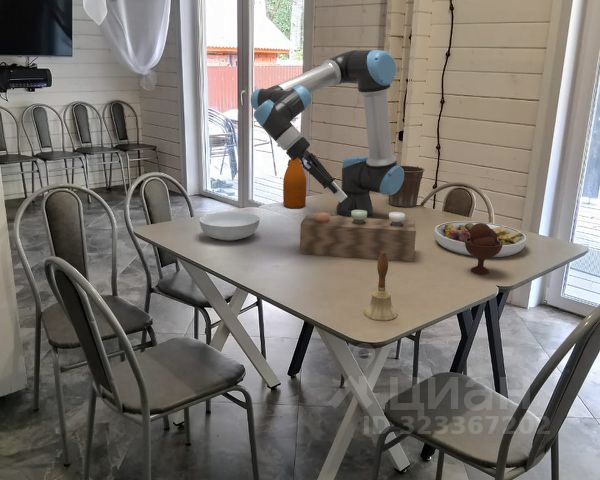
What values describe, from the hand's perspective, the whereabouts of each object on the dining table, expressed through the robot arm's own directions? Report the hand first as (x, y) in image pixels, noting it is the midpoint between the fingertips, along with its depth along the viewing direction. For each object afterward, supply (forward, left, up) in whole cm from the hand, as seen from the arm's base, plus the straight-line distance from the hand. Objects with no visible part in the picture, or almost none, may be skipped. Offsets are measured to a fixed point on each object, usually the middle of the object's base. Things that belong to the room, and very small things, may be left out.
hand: (343, 199), depth 181 cm
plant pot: (-66, -38, -18) cm, 78 cm away
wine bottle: (-23, -60, -18) cm, 66 cm away
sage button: (-5, +2, -10) cm, 11 cm away
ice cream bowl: (-24, +36, -18) cm, 47 cm away
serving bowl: (+22, -35, -18) cm, 45 cm away
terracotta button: (+4, -6, -12) cm, 14 cm away
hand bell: (+22, +42, -18) cm, 51 cm away
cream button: (-13, +11, -10) cm, 20 cm away
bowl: (-45, +19, -18) cm, 52 cm away
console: (-5, +2, -18) cm, 18 cm away
